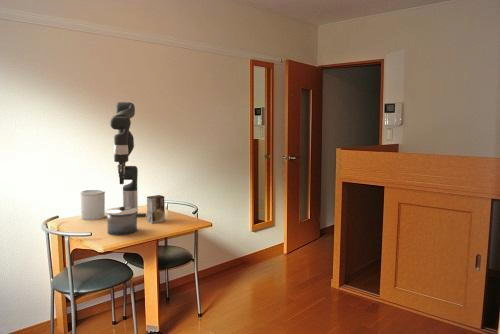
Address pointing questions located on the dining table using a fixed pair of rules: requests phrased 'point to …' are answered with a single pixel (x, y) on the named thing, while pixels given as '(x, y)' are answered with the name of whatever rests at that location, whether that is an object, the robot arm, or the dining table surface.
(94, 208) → the utensil holder
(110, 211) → the pot lid
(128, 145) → the robot arm
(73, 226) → the dining table surface
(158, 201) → the coffee box
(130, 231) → the steel pot
